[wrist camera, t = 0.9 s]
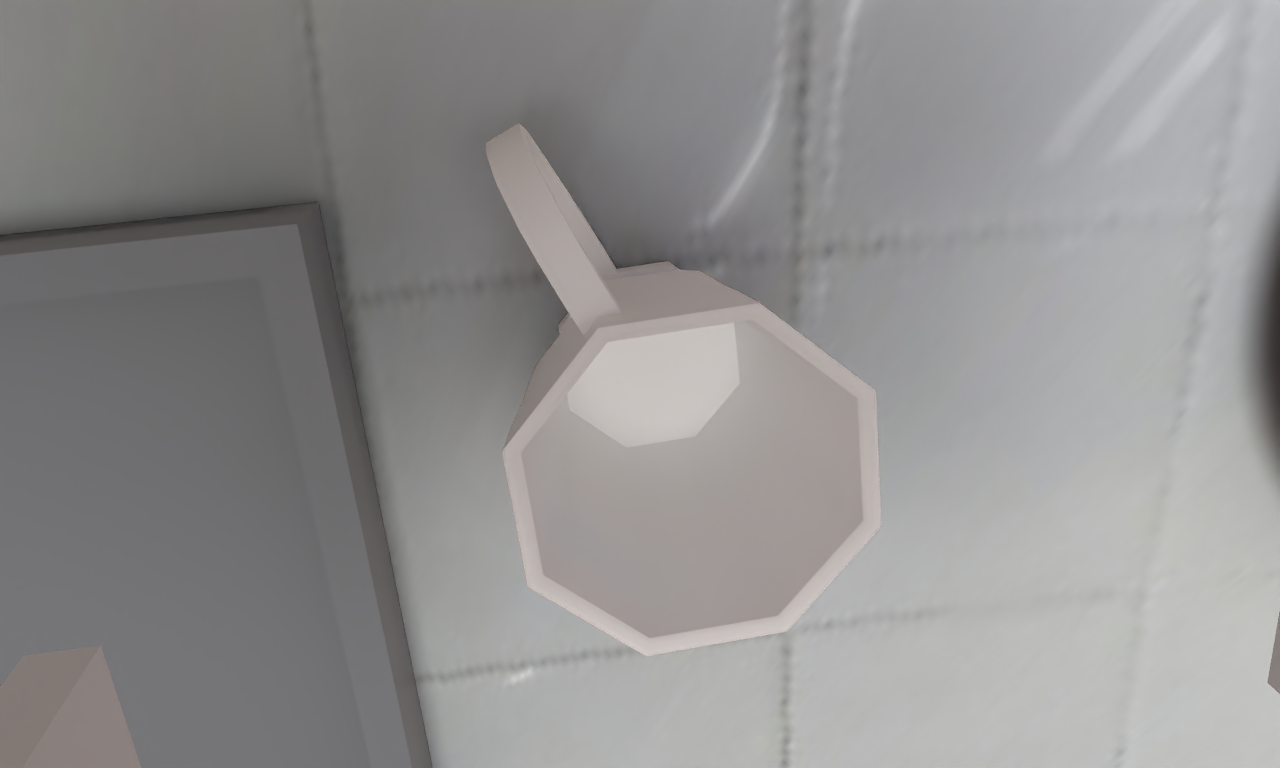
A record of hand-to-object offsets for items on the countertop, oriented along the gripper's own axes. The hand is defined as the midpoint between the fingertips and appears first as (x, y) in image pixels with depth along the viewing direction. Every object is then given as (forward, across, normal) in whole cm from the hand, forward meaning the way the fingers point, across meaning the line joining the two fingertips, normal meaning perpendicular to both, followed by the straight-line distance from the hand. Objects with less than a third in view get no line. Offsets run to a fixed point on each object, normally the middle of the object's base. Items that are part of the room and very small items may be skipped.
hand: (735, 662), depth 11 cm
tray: (+14, -14, -7) cm, 21 cm away
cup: (+15, 0, 0) cm, 15 cm away
